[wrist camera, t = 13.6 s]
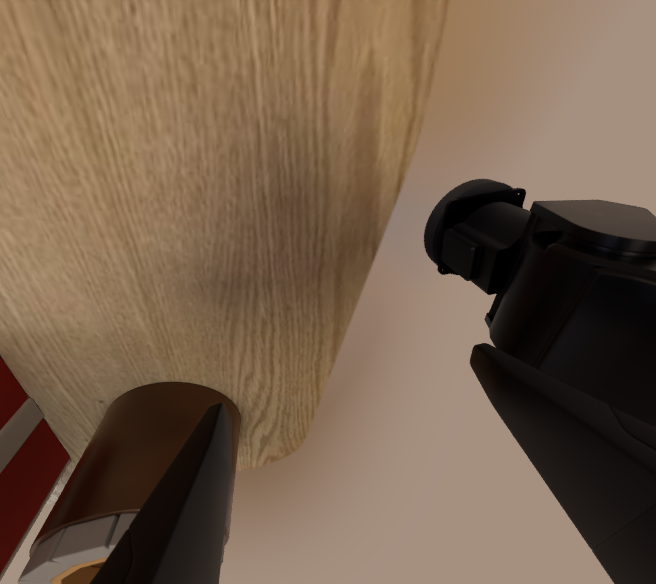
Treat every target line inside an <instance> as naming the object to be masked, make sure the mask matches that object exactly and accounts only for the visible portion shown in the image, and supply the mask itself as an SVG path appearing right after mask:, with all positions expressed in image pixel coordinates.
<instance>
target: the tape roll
mask: <svg viewBox="0 0 656 584" xmlns="http://www.w3.org/2000/svg"><path fill="white" fill-rule="evenodd" d="M136 515H137V513H122V514H121V515H120V518H119V517H118V516H116V515H112V516H108V517H104V518H100V519H96V520H92V521H88V522H84V523H80V524H76V525H72V526H69V527H68V528H67V529H65V528H63V529H61V530H60V531H58V532H57V533H55V534H54V535H53V536H51V537H50V538H48V539H47V540H45V541H44V542H42V543H41V544H39V545H38V546H37V547H36V549H35V550H34V552H33V554H32V556H31V558H30V560H29V562H28V563H27V565H26V567H25V569H24V570H23V572H22V574H21V576H20V578H19V580H18V584H89V583H90V582H91V580H92V579H93V578H94V576H95V575H96V574H97V572H98V571H99V569H100V568H97V567H91V566H90V565H93V564H97V563H101V562H105V561H106V559H107V558H108V556H109V555H110V553H111V552H112V550H113V549H114V548H115V546H116V545H117V543H118V542H119V540H120V539H121V537H122V536H123V534H124V533H125V531H126V530H127V529H129V525H130V524H131V522H132V521H133V519H134V518H135V516H136ZM224 546H225V534H224V541H223V549H222V558H221V564H222V562H223V554H224Z"/></svg>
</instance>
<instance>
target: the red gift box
mask: <svg viewBox="0 0 656 584" xmlns="http://www.w3.org/2000/svg"><path fill="white" fill-rule="evenodd" d="M43 417H44V415H43V414H42V412H41V411H40V409H39V408H38V406H37V405H36V403H35V402H34V400H33V399H32V398H28V396H27V395H26V393H25V392H24V390H23V389H22V388H21V386H20V385H19V383H18V382H17V380H16V379H15V377H14V376H13V375H12V373H11V372H10V370H9V369H8V367H7V366H6V364H5V363H4V362H3V360H2V359H1V357H0V581H1V579H2V577H3V575H4V574H5V572H6V570H7V569H8V567H9V565H10V564H11V562H12V560H13V558H14V557H15V555H16V553H17V552H18V550H19V548H20V546H21V545H22V543H23V541H24V539H25V538H26V536H27V534H28V532H29V531H30V529H31V528H32V526H33V524H34V523H35V521H36V519H37V517H38V516H39V514H40V512H41V510H42V509H43V507H44V505H45V504H46V502H47V500H48V499H49V497H50V495H51V493H52V492H53V490H54V488H55V487H56V485H57V483H58V481H59V480H60V478H61V476H62V475H63V473H64V471H65V470H66V468H67V466H68V464H69V463H70V461H71V459H69V455H68V454H67V452H66V451H65V449H64V448H63V447H62V445H61V444H60V442H59V441H58V439H57V438H56V436H55V435H54V434H53V432H52V431H51V429H50V428H49V426H48V425H47V423H46V422H45V421H44V419H43Z"/></svg>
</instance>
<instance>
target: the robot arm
mask: <svg viewBox="0 0 656 584" xmlns="http://www.w3.org/2000/svg"><path fill="white" fill-rule="evenodd" d="M518 194H519V195H518ZM517 195H518V196H517ZM525 196H526V190H525V189H522V188H513V189H508V190H502V191H496V192H491V193H485V194H479V195H473V196H468V197H462V198H456V199H451V200H449V201H448V202H447V203H446V205H445V211H444V219H443V227H442V229H441V234H440V242H439V250H438V258H439V260H438V269H437V270H438V272H439V273H440V274H442V275H446V274H451V273H458V274H459V275H460V276H461V277H463V278H464V279H465V280H466V281H472V282H473V283H474V284H475V285H477V286H478V287H479V288H480V289H482V290H483V291H484V292H485V293H487V294H488V295H491V294H497V295H496V297H495V300H494V302H493V304H492V307H491V309H490V311H489V313H487V315H486V317H485V321H486V323H487V325H488V327H489V331H490V338H491V340H492V342H493V344H494V345H495V347H496V348H495V347H493V346H491V345H489V344H486V343H482V344H478V345H475V346H474V347H473V350H472V354H471V358H470V365H471V367H472V369H473V371H474V373H475V374H476V376H477V378H478V380H479V382H480V384H481V385H482V387H483V389H484V391H485V393H486V394H487V396H488V398H489V400H490V402H491V403H492V405H493V407H494V408H495V410H496V411H497V412H498V414H499V416H500V417H501V419H502V420H503V421H504V423H505V424H506V426H507V427H508V429H509V430H510V431H511V433H512V435H513V436H514V437H515V439H516V440H517V442H518V443H519V445H520V446H521V448H522V449H523V450H524V452H525V453H526V455H527V456H528V458H529V459H530V461H531V462H532V464H533V465H534V467H535V468H536V469H537V471H538V472H539V474H540V475H541V477H542V478H543V480H544V481H545V483H546V484H547V485H548V487H549V489H550V490H551V491H552V493H553V494H554V496H555V497H556V499H557V500H558V502H559V503H560V505H561V506H562V507H563V509H564V510H565V512H566V513H567V515H568V516H569V518H570V519H571V521H572V522H573V523H574V525H575V526H576V528H577V529H578V531H579V532H580V534H581V535H582V537H583V538H584V540H585V541H586V543H587V544H588V545H589V547H590V548H591V549H592V551H593V553H594V555H595V556H596V557H597V559H598V560H599V562H600V563H601V565H602V566H603V568H604V569H605V571H606V572H607V574H608V575H609V576H610V578H611V579H612V581H613V582H614V584H656V217H655V216H654V215H653V214H652V213H651V212H650V211H649V210H647V209H645V208H641V207H636V206H631V205H625V204H619V203H614V202H608V201H603V200H568V201H567V200H566V201H534V202H533V204H532V207H531V209H530V211H528V210H525V209H523V208H522V207H523V203H524V200H525ZM453 204H454V207H453V208H452V209H451V206H452V205H453ZM444 268H445V269H444ZM443 269H444V270H443ZM231 464H232V419H231V415H230V413H229V412H228V410H227V408H226V406H225V404H224V403H223V402H219V403H214V404H211V405H210V406H209V407H208V408H207V410H206V411H205V413H204V414H203V416H202V417H201V419H200V420H199V422H198V423H197V425H196V426H195V428H194V429H193V431H192V432H191V434H190V435H189V437H188V438H187V440H186V441H185V443H184V444H183V446H182V447H181V449H180V450H179V452H178V453H177V455H176V456H175V458H174V459H173V461H172V462H171V464H170V465H169V467H168V468H167V470H166V471H165V473H164V474H163V476H162V477H161V479H160V480H159V482H158V483H157V485H156V486H155V488H154V489H153V491H152V492H151V494H150V495H149V497H148V498H147V500H146V501H145V503H144V504H143V506H142V507H141V509H140V510H139V512H138V513H137V515H136V516H135V518H134V519H133V521H132V522H131V524H130V525H129V529H127V530H126V531H125V533H124V534H123V536H122V537H121V539H120V540H119V542H118V543H117V545H116V546H115V548H114V549H113V550H112V552H111V553H110V555H109V556H108V558H107V559H106V561H105V562H104V563H103V565H102V566H101V568H100V569H99V571H98V572H97V574H96V575H95V576H94V578H93V579H92V580H91V582H90V583H89V584H219V575H220V567H221V558H222V549H223V541H224V532H225V523H226V514H227V505H228V497H229V488H230V479H231Z"/></svg>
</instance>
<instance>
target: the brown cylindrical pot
mask: <svg viewBox="0 0 656 584" xmlns="http://www.w3.org/2000/svg"><path fill="white" fill-rule="evenodd" d="M219 402H223V403H224V404H225V406H226V408H227V410H228V412H229V413H230V415H231V419H232V464H231V479H230V488H229V497H228V505H227V514H226V523H225V532H224V534H225V545H226V543H227V541H228V539H229V532H230V522H231V511H232V502H233V491H234V481H235V472H236V462H237V452H238V442H239V432H240V421H241V418H240V413H239V411H238V409H237V407H236V406H235V404H234V403H233V402H232V401H231V400H230V399H228V398H227V397H226V396H224V395H223V394H221V393H219V392H217V391H215V390H213V389H210V388H207V387H204V386H200V385H195V384H189V383H157V384H151V385H146V386H143V387H139V388H136V389H134V390H131V391H129V392H127V393H125V394H123V395H122V396H120V397H119V398H118V399H116V400H115V401H114V402H113V403H112V405H111V406H110V407H109V409H108V411H107V412H106V414H105V416H104V418H103V419H102V421H101V423H100V425H99V427H98V428H97V430H96V432H95V434H94V435H93V437H92V439H91V441H90V443H89V444H88V446H87V448H86V450H85V452H84V453H83V455H82V457H81V459H80V460H79V462H78V464H77V466H76V468H75V469H74V471H73V473H72V475H71V476H70V478H69V480H68V482H67V484H66V485H65V487H64V489H63V491H62V492H61V494H60V496H59V498H58V500H57V501H56V503H55V505H54V507H53V509H52V511H51V512H50V514H49V516H48V518H47V519H46V521H45V523H44V525H43V527H42V528H41V530H40V532H39V534H38V535H37V537H36V539H35V541H34V543H33V544H32V546H31V549H30V558H31V556H32V554H33V552H34V550H35V549H36V547H37V546H38V545H39V544H41V543H42V542H44V541H45V540H47V539H48V538H50V537H51V536H53V535H54V534H55V533H57V532H58V531H60V530H61V529H63V528H65V529H67V528H68V527H69V526H72V525H76V524H80V523H84V522H88V521H92V520H96V519H100V518H104V517H108V516H112V515H116V516H118V517H119V518H120V515H121V514H122V513H138V512H139V510H140V509H141V507H142V506H143V504H144V503H145V501H146V500H147V498H148V497H149V495H150V494H151V492H152V491H153V489H154V488H155V486H156V485H157V483H158V482H159V480H160V479H161V477H162V476H163V474H164V473H165V471H166V470H167V468H168V467H169V465H170V464H171V462H172V461H173V459H174V458H175V456H176V455H177V453H178V452H179V450H180V449H181V447H182V446H183V444H184V443H185V441H186V440H187V438H188V437H189V435H190V434H191V432H192V431H193V429H194V428H195V426H196V425H197V423H198V422H199V420H200V419H201V417H202V416H203V414H204V413H205V411H206V410H207V408H208V407H209V406H210V405H211V404H214V403H219ZM103 563H104V562H101V563H97V564H93V565H90V566H91V567H97V568H101V566H102V565H103Z"/></svg>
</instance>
